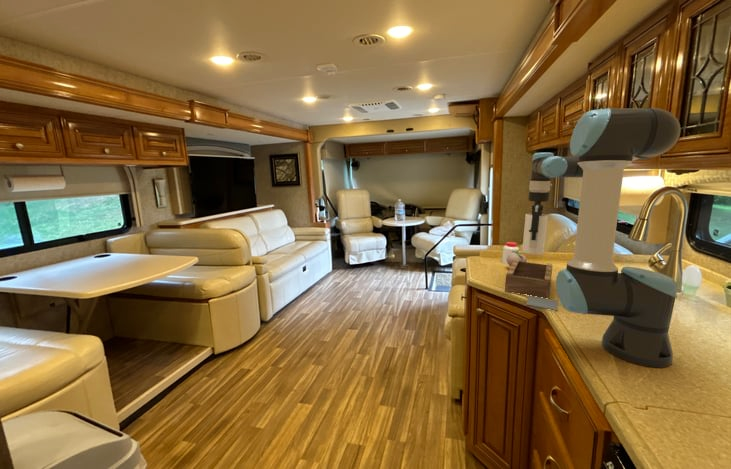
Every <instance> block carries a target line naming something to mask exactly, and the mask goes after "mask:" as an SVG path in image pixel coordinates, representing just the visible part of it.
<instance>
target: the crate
mask: <svg viewBox="0 0 731 469" xmlns="http://www.w3.org/2000/svg"><path fill="white" fill-rule="evenodd" d="M552 274H553V263H549V262H547V263H546V264H542V263H535V262H529V261H527V262H522V261H519V259H514V261H513V263H512V265H511V266H510V267H509V269H508V271H507V273H506V275H505V283H504V292H505V293H510V292H514V293H513V294H515V293H520V294H519V295H521V294H527V295H532V296H537V297H543V298H548V299H550V292H551V285H552V284H551V282H552V276H553V275H552Z"/></svg>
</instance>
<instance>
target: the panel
mask: <svg viewBox="0 0 731 469" xmlns="http://www.w3.org/2000/svg"><path fill="white" fill-rule="evenodd" d="M558 302H559V300H556V299H551V298H549V299H546V298H541V297H535V296H530V295H529V296H527V300H526V304H525V306H526V307H530V308H531V307H532V308H536V309H543V310H546V309H551V310H555V311H554V312H556V311H557V312H558ZM551 310H550V311H551Z"/></svg>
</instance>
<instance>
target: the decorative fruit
mask: <svg viewBox="0 0 731 469" xmlns="http://www.w3.org/2000/svg"><path fill="white" fill-rule="evenodd" d="M514 259H519V261H522V262H528V261H527V257H526V256H525V255H524V253H521V252H519V253H518V250H517V251H512V253H510V254H509V255H508V256H507V263H508V264H507V265H508V266H510V267H511V265H512V263H513V261H514Z"/></svg>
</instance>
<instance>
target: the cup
mask: <svg viewBox="0 0 731 469" xmlns="http://www.w3.org/2000/svg"><path fill="white" fill-rule="evenodd" d="M548 220H549V215H548V214H543V213H542V215H541V216H539V225H538V238H537V247H536V248H529V242H530V233H531V232H529V230H530V229H531V224H532V213H525V218H524V226H523V227H524V229H523V238H522V248H521V252H522V253H523V254H529V255H543V254H544V253H545V246H546V237H547V228H548V227H547V226H548ZM535 229H536V228H535Z"/></svg>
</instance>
